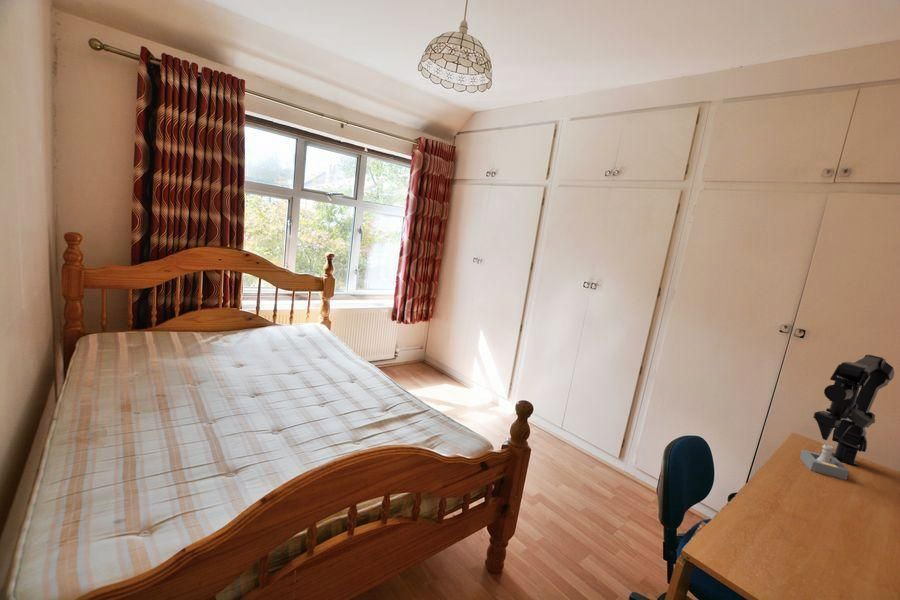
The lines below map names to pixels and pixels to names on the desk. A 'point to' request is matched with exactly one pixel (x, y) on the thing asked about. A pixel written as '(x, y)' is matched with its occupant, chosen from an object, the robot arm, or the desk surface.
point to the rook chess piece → (826, 454)
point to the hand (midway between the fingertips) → (831, 438)
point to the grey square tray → (824, 465)
